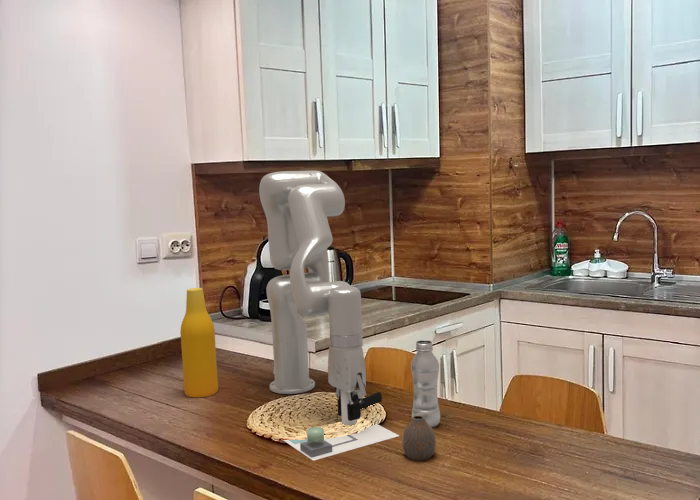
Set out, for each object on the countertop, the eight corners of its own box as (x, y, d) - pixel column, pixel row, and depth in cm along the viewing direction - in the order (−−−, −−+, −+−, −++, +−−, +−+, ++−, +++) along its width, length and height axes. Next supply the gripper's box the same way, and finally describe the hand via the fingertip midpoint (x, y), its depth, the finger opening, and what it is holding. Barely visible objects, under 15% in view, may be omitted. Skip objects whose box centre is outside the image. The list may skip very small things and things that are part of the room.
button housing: (300, 449, 151) (300, 443, 151) (320, 444, 153) (320, 437, 153) (311, 457, 147) (311, 450, 146) (332, 451, 149) (332, 444, 149)
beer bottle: (216, 385, 201) (209, 285, 197) (220, 395, 192) (214, 290, 188) (182, 390, 198) (175, 288, 194) (186, 400, 189) (178, 293, 186)
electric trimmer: (386, 404, 181) (385, 392, 180) (348, 421, 169) (347, 408, 169) (374, 401, 183) (374, 390, 183) (336, 418, 172) (336, 405, 171)
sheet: (278, 439, 159) (278, 436, 159) (360, 418, 170) (360, 415, 170) (313, 463, 145) (313, 460, 145) (399, 438, 157) (399, 435, 156)
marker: (338, 423, 166) (337, 381, 164) (352, 419, 167) (350, 378, 166) (347, 427, 162) (345, 385, 161) (360, 424, 164) (358, 381, 163)
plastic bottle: (423, 419, 168) (421, 337, 165) (446, 426, 163) (444, 341, 160) (406, 427, 163) (403, 342, 161) (428, 434, 158) (426, 347, 156)
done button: (304, 438, 150) (303, 429, 150) (319, 434, 152) (318, 425, 152) (312, 443, 147) (312, 434, 147) (327, 439, 149) (326, 430, 149)
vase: (402, 451, 149) (400, 411, 148) (434, 451, 149) (433, 410, 148) (403, 465, 142) (402, 423, 141) (437, 464, 142) (436, 422, 141)
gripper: (314, 336, 168) (317, 410, 170) (351, 350, 154) (354, 431, 156) (341, 331, 172) (344, 404, 174) (380, 344, 158) (382, 423, 160)
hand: (349, 416), depth 165 cm, fingers closed on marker, 3 cm apart
